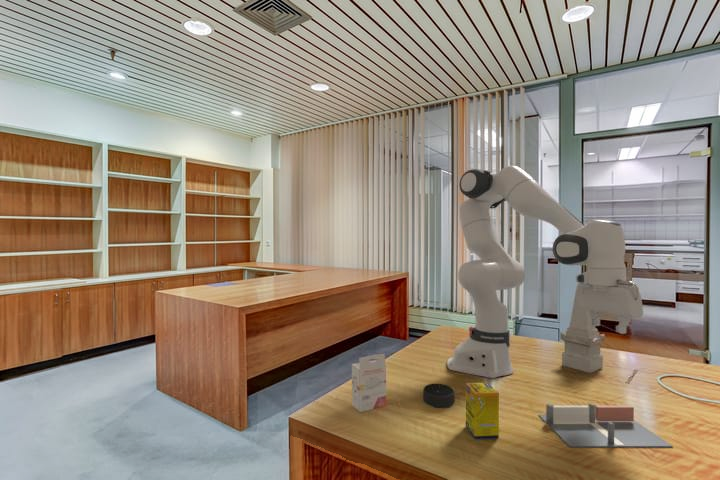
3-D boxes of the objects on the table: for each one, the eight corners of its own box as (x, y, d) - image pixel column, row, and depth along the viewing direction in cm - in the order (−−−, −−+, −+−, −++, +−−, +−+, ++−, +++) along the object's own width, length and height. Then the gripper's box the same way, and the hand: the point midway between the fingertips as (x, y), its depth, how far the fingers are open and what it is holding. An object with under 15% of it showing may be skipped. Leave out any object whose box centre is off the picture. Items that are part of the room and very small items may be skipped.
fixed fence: (568, 445, 83) (568, 423, 83) (545, 421, 93) (545, 403, 93) (621, 445, 83) (621, 423, 83) (592, 421, 93) (592, 403, 93)
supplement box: (464, 426, 91) (465, 382, 91) (488, 425, 91) (488, 382, 91) (474, 440, 85) (474, 393, 85) (499, 438, 86) (499, 392, 85)
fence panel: (597, 421, 92) (597, 407, 92) (595, 419, 93) (595, 405, 93) (633, 421, 92) (633, 407, 92) (630, 419, 93) (630, 405, 93)
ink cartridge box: (377, 399, 106) (377, 348, 106) (386, 406, 102) (386, 353, 102) (351, 405, 102) (351, 353, 102) (359, 413, 98) (359, 358, 98)
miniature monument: (604, 367, 132) (605, 284, 132) (591, 373, 126) (591, 286, 126) (574, 359, 141) (574, 281, 140) (560, 365, 135) (560, 283, 134)
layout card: (570, 447, 82) (570, 445, 82) (538, 415, 96) (538, 414, 96) (672, 447, 82) (672, 445, 82) (625, 415, 96) (625, 414, 96)
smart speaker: (456, 398, 107) (456, 384, 107) (453, 412, 99) (453, 397, 99) (425, 394, 110) (425, 380, 110) (420, 407, 102) (420, 392, 102)
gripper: (649, 281, 90) (651, 338, 90) (591, 275, 111) (593, 321, 110) (625, 282, 90) (626, 338, 90) (571, 275, 110) (572, 322, 110)
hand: (607, 329), depth 100 cm, fingers open, 8 cm apart
